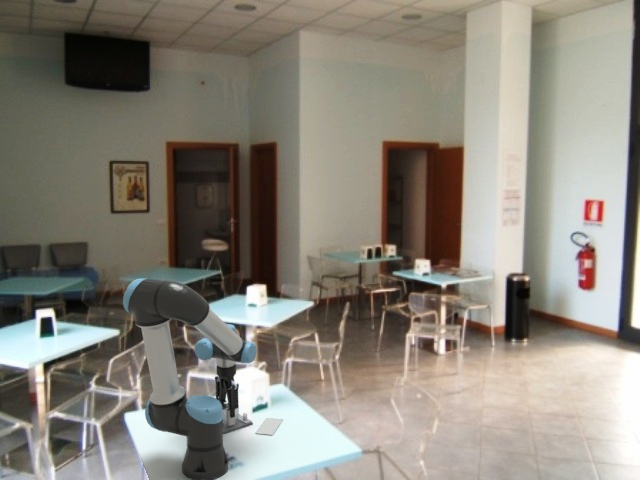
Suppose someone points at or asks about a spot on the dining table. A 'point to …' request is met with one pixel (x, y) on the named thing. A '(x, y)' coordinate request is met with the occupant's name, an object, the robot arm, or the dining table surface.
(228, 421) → the robot arm
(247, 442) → the dining table surface
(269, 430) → the smartphone
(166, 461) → the dining table surface
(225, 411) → the block
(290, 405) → the dining table surface
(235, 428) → the grey knobbed plate
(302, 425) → the dining table surface
